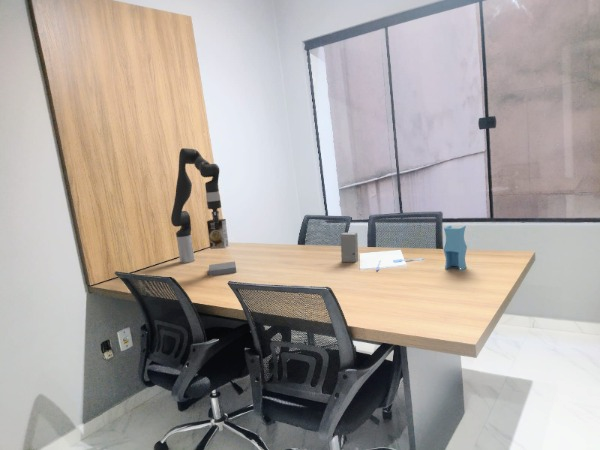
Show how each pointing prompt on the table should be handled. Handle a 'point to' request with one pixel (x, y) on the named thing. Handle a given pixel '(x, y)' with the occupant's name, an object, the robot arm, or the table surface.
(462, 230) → the vase
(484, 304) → the table surface
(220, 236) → the coffee box
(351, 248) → the skincare box
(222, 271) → the riser
